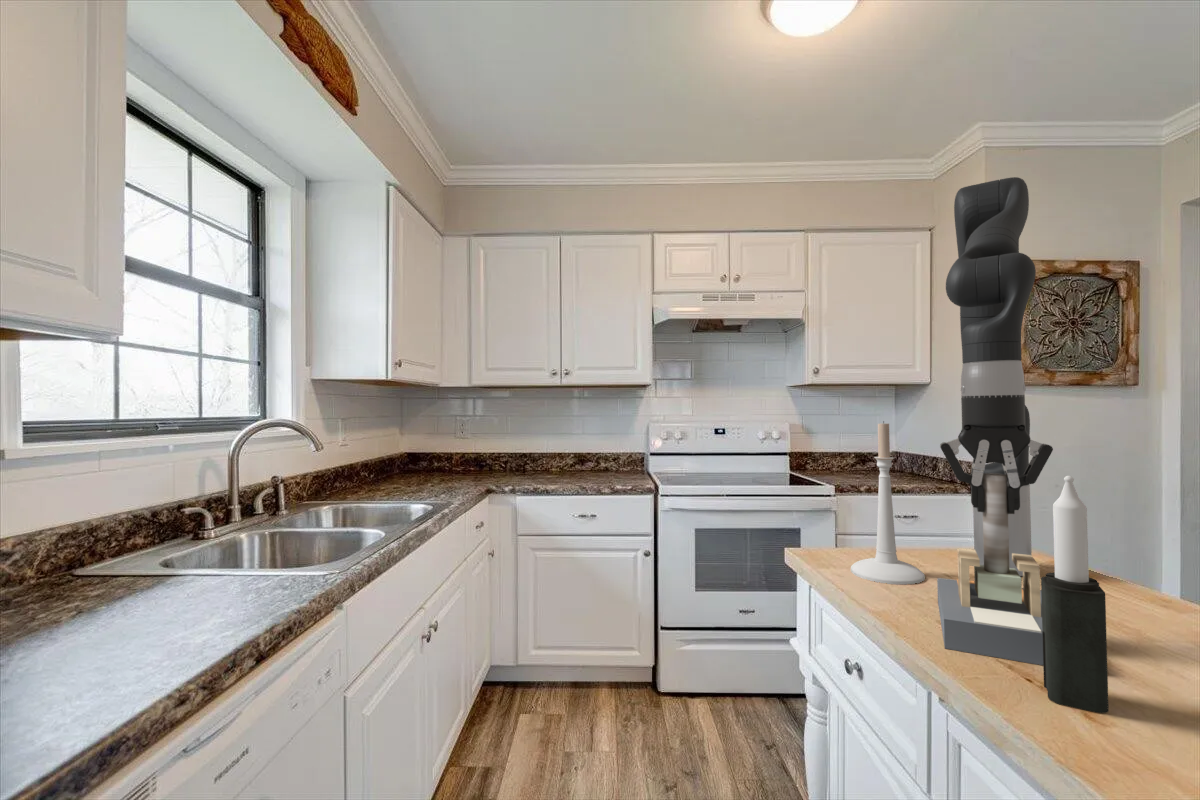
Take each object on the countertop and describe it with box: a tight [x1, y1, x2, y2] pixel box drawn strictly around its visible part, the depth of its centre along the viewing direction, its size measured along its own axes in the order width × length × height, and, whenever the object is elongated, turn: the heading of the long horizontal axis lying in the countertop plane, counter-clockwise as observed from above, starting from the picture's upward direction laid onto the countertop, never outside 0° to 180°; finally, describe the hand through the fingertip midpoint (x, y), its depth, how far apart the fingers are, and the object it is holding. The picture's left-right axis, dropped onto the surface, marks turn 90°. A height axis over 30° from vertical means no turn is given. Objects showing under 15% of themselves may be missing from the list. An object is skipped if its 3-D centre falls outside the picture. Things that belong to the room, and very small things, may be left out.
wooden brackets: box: [957, 547, 1041, 617], centre depth 79 cm, size 6×9×7 cm, turn 61°
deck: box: [936, 577, 1043, 666], centre depth 79 cm, size 20×14×4 cm
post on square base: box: [973, 473, 1023, 604], centre depth 79 cm, size 5×5×18 cm
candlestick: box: [850, 420, 926, 586], centre depth 107 cm, size 13×13×30 cm
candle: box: [1040, 475, 1110, 714], centre depth 62 cm, size 5×5×25 cm
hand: (994, 511), depth 79 cm, fingers closed on post on square base, 3 cm apart
